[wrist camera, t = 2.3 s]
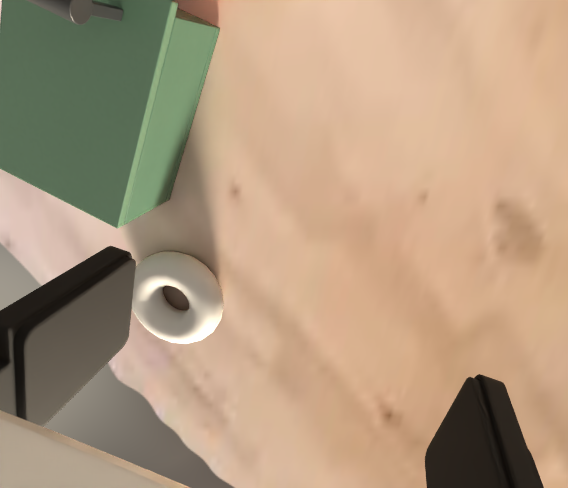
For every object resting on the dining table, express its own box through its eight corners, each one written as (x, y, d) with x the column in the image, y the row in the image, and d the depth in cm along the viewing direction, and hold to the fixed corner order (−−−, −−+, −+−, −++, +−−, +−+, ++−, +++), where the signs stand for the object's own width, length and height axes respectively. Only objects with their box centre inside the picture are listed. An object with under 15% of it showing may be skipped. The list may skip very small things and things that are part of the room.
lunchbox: (92, -32, 33) (17, -58, 27) (220, 28, 32) (176, 16, 26) (63, 147, 40) (-2, 161, 33) (169, 200, 39) (123, 225, 33)
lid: (17, -73, 26) (-73, -108, 21) (179, 2, 25) (125, -15, 20) (-2, 161, 33) (-73, 177, 28) (123, 225, 33) (73, 253, 28)
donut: (240, 327, 43) (212, 239, 40) (228, 347, 40) (196, 253, 37) (158, 333, 46) (126, 252, 43) (142, 353, 43) (105, 267, 40)
